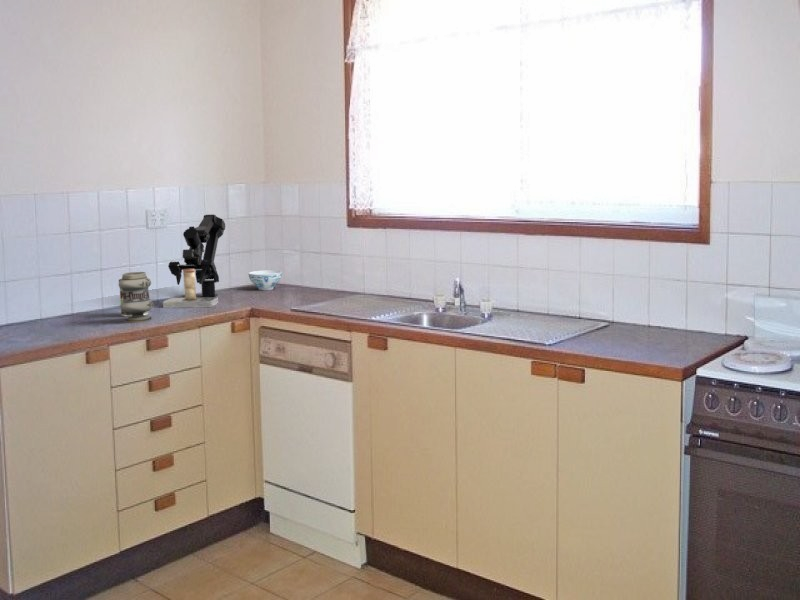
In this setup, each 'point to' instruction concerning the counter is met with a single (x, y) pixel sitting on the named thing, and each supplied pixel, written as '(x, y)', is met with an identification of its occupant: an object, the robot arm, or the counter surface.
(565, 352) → the counter surface
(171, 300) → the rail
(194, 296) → the peg
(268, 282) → the chinaware
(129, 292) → the apothecary jar
